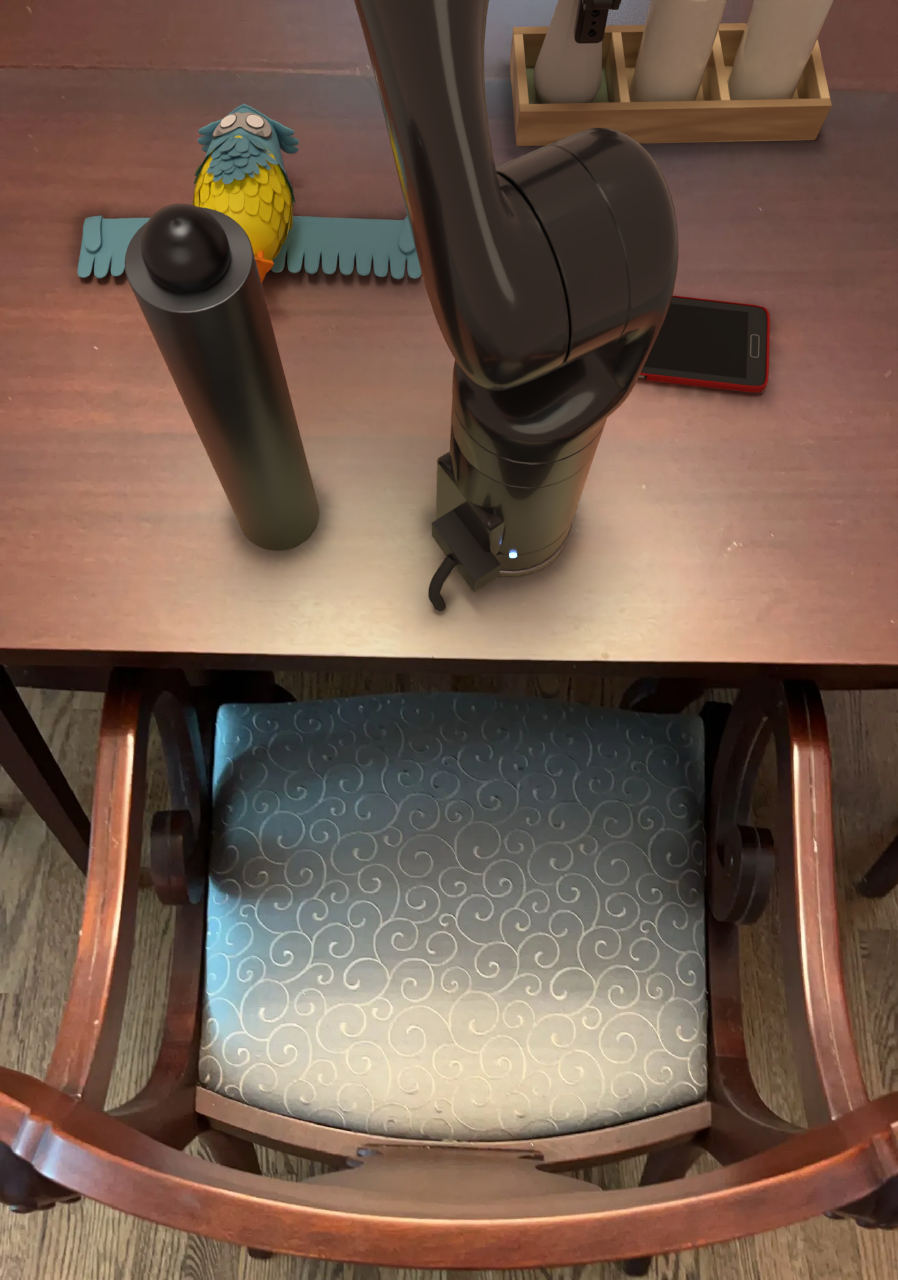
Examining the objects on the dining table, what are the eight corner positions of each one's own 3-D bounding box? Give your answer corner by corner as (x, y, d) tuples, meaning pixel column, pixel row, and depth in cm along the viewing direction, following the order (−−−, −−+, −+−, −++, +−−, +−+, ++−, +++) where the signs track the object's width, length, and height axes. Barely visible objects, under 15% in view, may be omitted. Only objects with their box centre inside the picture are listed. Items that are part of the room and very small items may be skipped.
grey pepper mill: (265, 565, 70) (148, 298, 41) (224, 503, 72) (82, 204, 42) (334, 523, 71) (268, 235, 42) (292, 463, 73) (199, 145, 44)
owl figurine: (29, 239, 68) (55, 79, 73) (72, 318, 76) (93, 169, 81) (422, 241, 68) (421, 81, 73) (423, 318, 77) (422, 170, 82)
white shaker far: (751, 134, 82) (808, -9, 70) (709, 91, 84) (757, -57, 71) (802, 105, 83) (867, -40, 71) (759, 63, 85) (815, -87, 72)
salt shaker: (523, 118, 82) (540, -28, 70) (538, 69, 84) (557, -83, 72) (589, 132, 82) (618, -12, 69) (603, 83, 84) (633, -67, 71)
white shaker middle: (655, 136, 82) (695, -7, 70) (614, 93, 84) (646, -55, 71) (707, 107, 83) (755, -39, 71) (666, 65, 85) (706, -86, 72)
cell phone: (765, 396, 75) (769, 389, 74) (579, 374, 75) (581, 367, 74) (767, 313, 77) (771, 305, 76) (587, 292, 78) (589, 284, 77)
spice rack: (813, 144, 83) (832, 105, 79) (515, 150, 82) (520, 111, 78) (796, 63, 86) (814, 21, 82) (509, 68, 85) (512, 26, 81)
